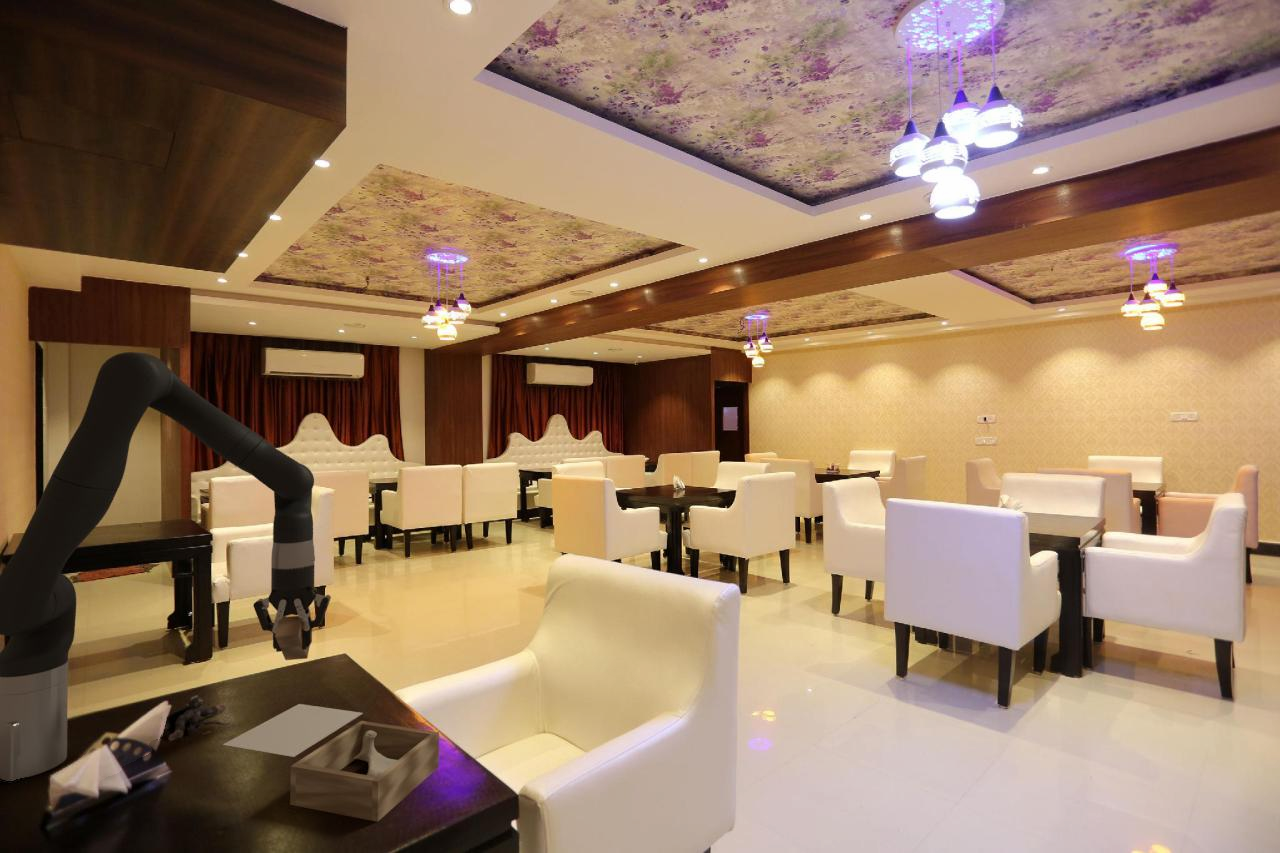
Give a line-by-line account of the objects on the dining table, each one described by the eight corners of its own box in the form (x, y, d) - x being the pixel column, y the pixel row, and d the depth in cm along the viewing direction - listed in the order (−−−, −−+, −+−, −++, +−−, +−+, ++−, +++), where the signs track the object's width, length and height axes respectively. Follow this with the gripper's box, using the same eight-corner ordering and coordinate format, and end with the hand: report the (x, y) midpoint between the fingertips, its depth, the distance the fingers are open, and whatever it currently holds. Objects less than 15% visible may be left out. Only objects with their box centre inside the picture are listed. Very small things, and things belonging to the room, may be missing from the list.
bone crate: (377, 821, 94) (378, 781, 94) (290, 804, 98) (290, 766, 98) (438, 766, 109) (439, 732, 109) (360, 754, 114) (361, 720, 114)
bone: (372, 771, 98) (373, 720, 107) (345, 800, 99) (348, 746, 107) (426, 788, 104) (423, 738, 112) (400, 815, 104) (399, 763, 113)
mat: (293, 760, 111) (293, 756, 111) (222, 747, 116) (222, 744, 116) (363, 715, 129) (363, 713, 129) (299, 706, 133) (299, 703, 133)
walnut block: (285, 660, 127) (275, 636, 120) (289, 641, 130) (279, 617, 123) (307, 658, 128) (298, 634, 121) (310, 640, 131) (302, 615, 124)
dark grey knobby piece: (188, 742, 116) (155, 696, 120) (170, 779, 118) (138, 733, 122) (249, 714, 127) (217, 673, 131) (232, 749, 129) (200, 707, 133)
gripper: (246, 569, 120) (245, 659, 120) (327, 565, 123) (327, 652, 123) (259, 561, 127) (258, 646, 127) (336, 557, 131) (335, 640, 130)
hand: (292, 649), depth 125 cm, fingers closed on walnut block, 4 cm apart
